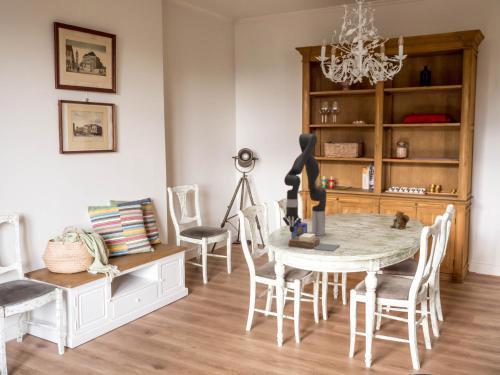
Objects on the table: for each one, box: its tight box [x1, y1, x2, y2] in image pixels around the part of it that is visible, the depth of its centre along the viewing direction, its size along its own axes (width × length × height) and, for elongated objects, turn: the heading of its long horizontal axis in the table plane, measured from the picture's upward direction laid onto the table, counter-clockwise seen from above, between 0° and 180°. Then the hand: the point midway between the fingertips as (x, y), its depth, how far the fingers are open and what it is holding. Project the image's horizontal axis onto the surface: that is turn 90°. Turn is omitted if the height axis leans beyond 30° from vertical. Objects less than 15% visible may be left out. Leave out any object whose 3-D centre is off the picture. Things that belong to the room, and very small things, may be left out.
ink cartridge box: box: [290, 220, 308, 240], centre depth 333 cm, size 10×6×14 cm, turn 51°
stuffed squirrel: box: [389, 210, 411, 231], centre depth 372 cm, size 10×14×13 cm
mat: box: [312, 242, 341, 252], centre depth 313 cm, size 15×13×1 cm
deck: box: [288, 236, 321, 250], centre depth 319 cm, size 14×16×4 cm
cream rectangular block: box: [299, 232, 316, 242], centre depth 318 cm, size 10×7×3 cm
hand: (291, 232), depth 322 cm, fingers closed
